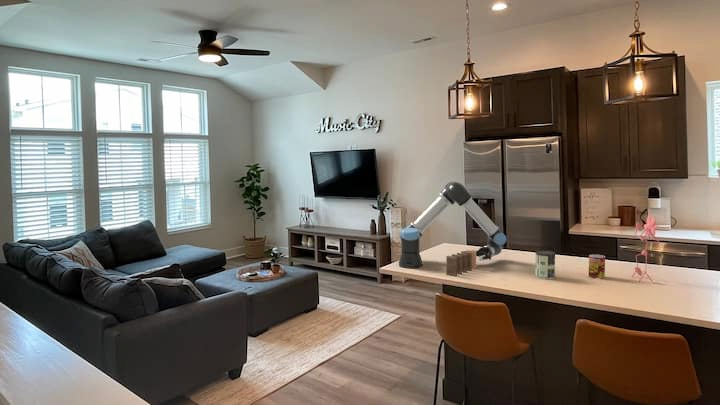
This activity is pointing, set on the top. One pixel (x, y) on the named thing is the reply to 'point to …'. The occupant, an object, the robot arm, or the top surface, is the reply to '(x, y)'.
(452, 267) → the domino
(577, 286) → the top surface
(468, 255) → the domino
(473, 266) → the domino
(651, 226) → the figurine
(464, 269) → the domino
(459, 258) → the domino
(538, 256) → the coffee can
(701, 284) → the top surface
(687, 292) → the top surface
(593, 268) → the canned food
